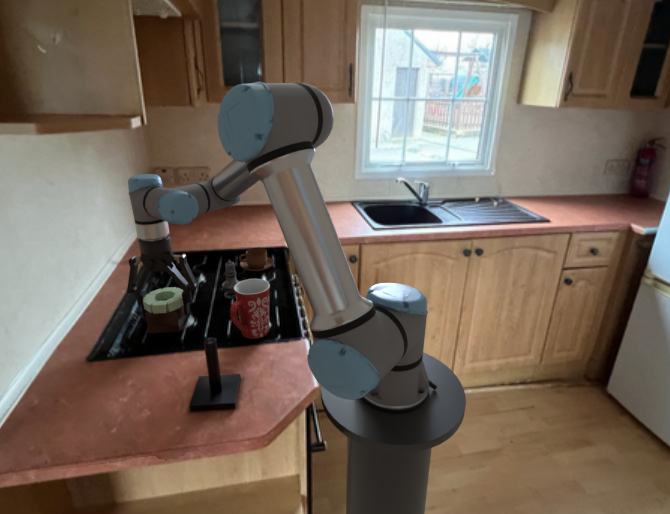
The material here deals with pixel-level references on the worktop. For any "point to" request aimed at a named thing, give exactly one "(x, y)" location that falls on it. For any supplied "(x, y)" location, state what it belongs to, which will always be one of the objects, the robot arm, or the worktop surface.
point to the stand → (215, 384)
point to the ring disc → (154, 299)
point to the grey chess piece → (230, 280)
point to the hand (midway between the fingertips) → (167, 313)
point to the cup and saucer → (256, 260)
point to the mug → (251, 308)
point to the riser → (166, 321)
